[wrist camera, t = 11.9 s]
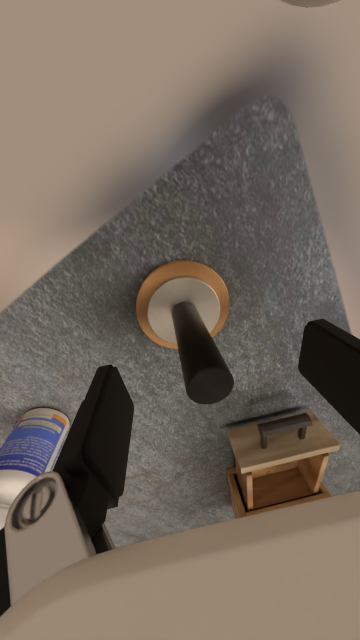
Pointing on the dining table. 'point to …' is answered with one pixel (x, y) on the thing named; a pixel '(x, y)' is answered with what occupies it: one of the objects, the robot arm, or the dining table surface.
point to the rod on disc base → (192, 335)
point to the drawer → (281, 459)
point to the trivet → (173, 271)
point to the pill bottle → (29, 452)
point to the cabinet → (241, 509)
